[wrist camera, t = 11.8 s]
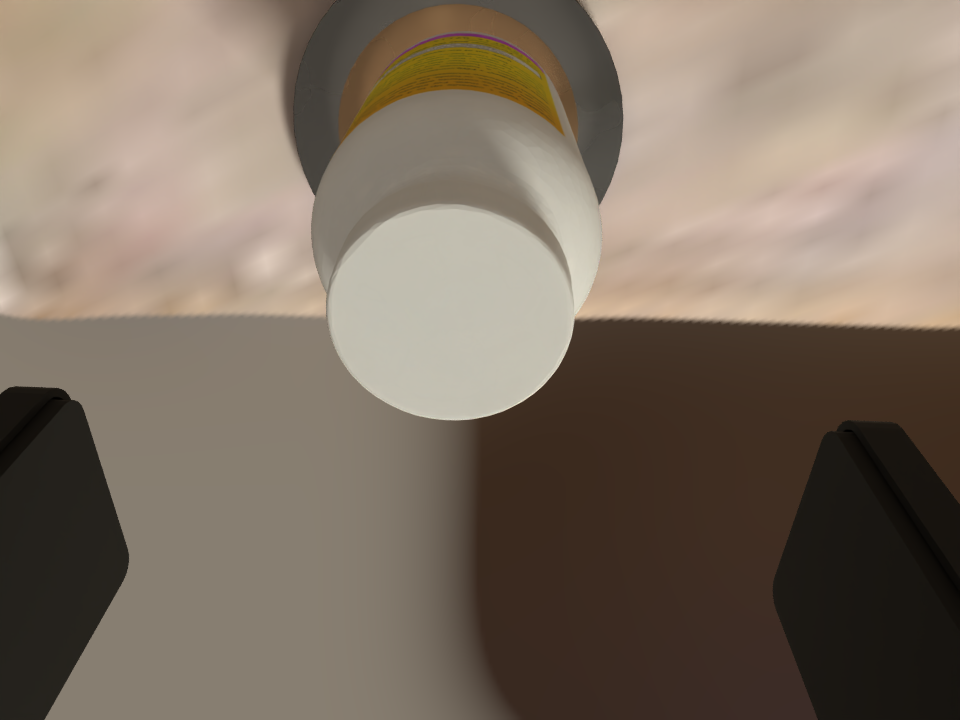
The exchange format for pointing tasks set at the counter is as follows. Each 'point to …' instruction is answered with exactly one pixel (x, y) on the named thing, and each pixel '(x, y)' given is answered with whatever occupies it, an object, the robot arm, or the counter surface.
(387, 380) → the supplement bottle
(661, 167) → the counter surface
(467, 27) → the round coaster
